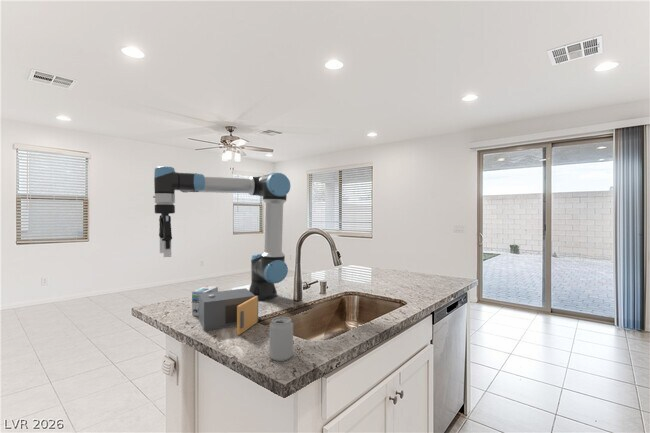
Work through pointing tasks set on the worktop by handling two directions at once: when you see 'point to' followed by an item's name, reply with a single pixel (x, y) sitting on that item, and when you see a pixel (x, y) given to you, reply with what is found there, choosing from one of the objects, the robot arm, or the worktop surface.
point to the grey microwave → (221, 308)
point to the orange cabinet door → (247, 314)
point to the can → (281, 338)
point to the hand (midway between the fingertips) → (165, 254)
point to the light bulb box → (196, 297)
